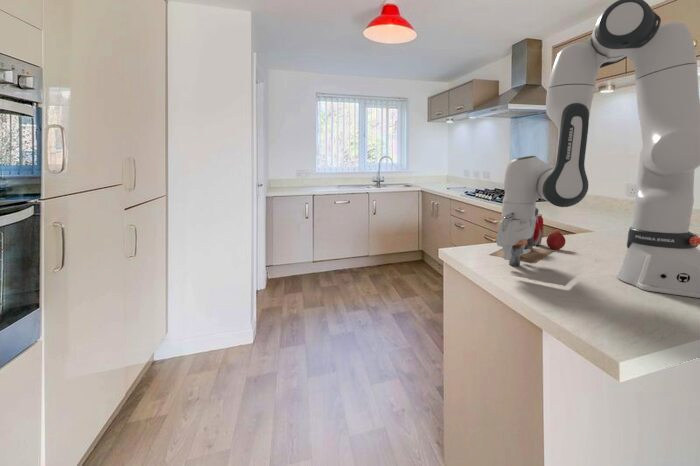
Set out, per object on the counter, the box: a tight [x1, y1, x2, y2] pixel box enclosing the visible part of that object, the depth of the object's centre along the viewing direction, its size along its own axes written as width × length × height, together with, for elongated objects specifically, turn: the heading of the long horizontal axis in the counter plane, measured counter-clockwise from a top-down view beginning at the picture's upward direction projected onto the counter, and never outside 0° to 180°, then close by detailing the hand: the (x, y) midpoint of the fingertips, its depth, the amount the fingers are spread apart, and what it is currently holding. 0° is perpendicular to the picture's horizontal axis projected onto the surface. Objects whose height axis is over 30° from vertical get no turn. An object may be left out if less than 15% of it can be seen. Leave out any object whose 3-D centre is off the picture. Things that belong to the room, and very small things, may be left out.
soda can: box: [533, 213, 544, 246], centre depth 135 cm, size 7×7×12 cm
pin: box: [508, 239, 527, 267], centre depth 105 cm, size 6×6×9 cm
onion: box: [546, 229, 566, 251], centre depth 124 cm, size 6×6×8 cm
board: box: [488, 247, 555, 264], centre depth 119 cm, size 15×20×1 cm
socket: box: [524, 234, 534, 250], centre depth 123 cm, size 7×6×8 cm
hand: (514, 256), depth 105 cm, fingers open, 8 cm apart
